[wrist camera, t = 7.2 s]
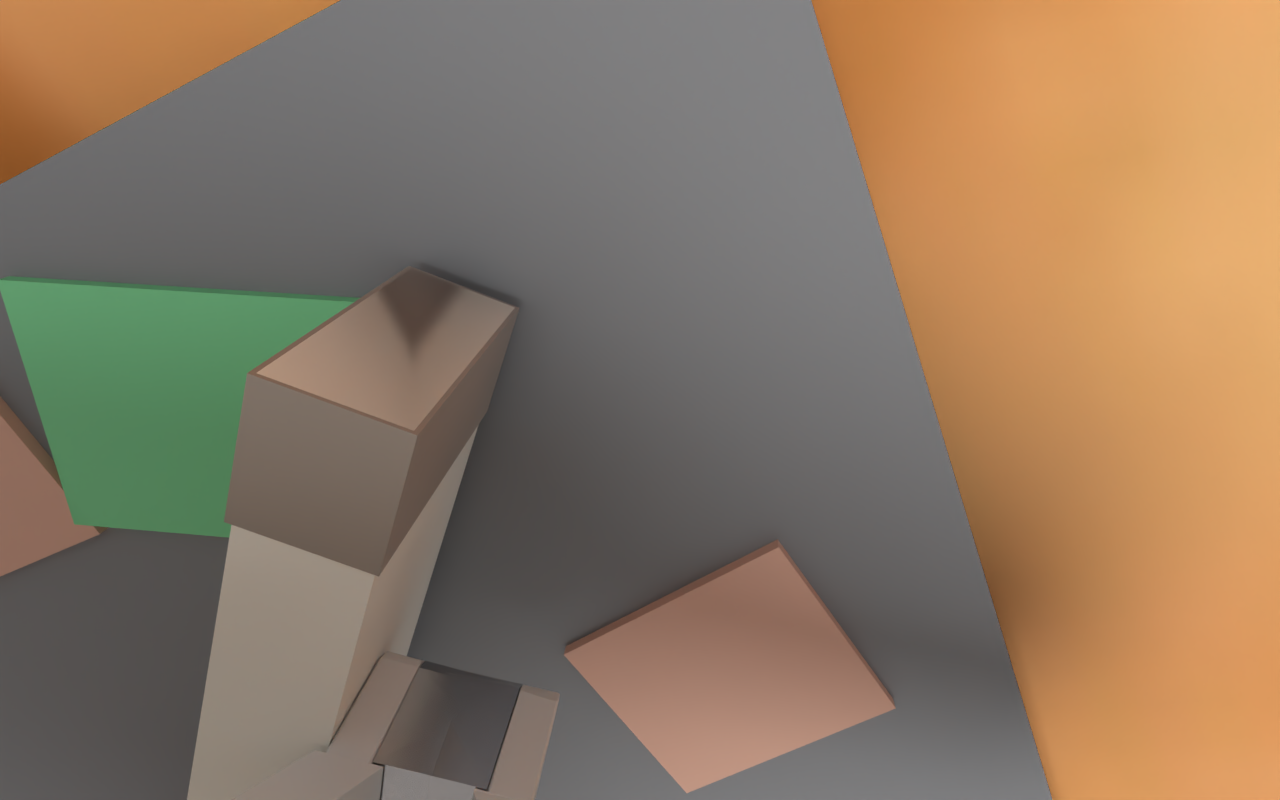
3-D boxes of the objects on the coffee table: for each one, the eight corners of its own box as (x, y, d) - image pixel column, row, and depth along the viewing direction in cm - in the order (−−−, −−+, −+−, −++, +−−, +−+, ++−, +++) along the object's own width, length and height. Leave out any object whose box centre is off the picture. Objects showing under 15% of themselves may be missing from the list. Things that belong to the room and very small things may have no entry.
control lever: (385, 965, 16) (294, 1213, 13) (185, 901, 16) (37, 1137, 13) (625, 344, 10) (577, 495, 7) (306, 221, 10) (77, 310, 6)
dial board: (135, 994, 21) (88, 1069, 19) (-438, 445, 15) (-572, 490, 13) (1050, 827, 15) (1087, 913, 14) (740, -178, 9) (746, -226, 8)
